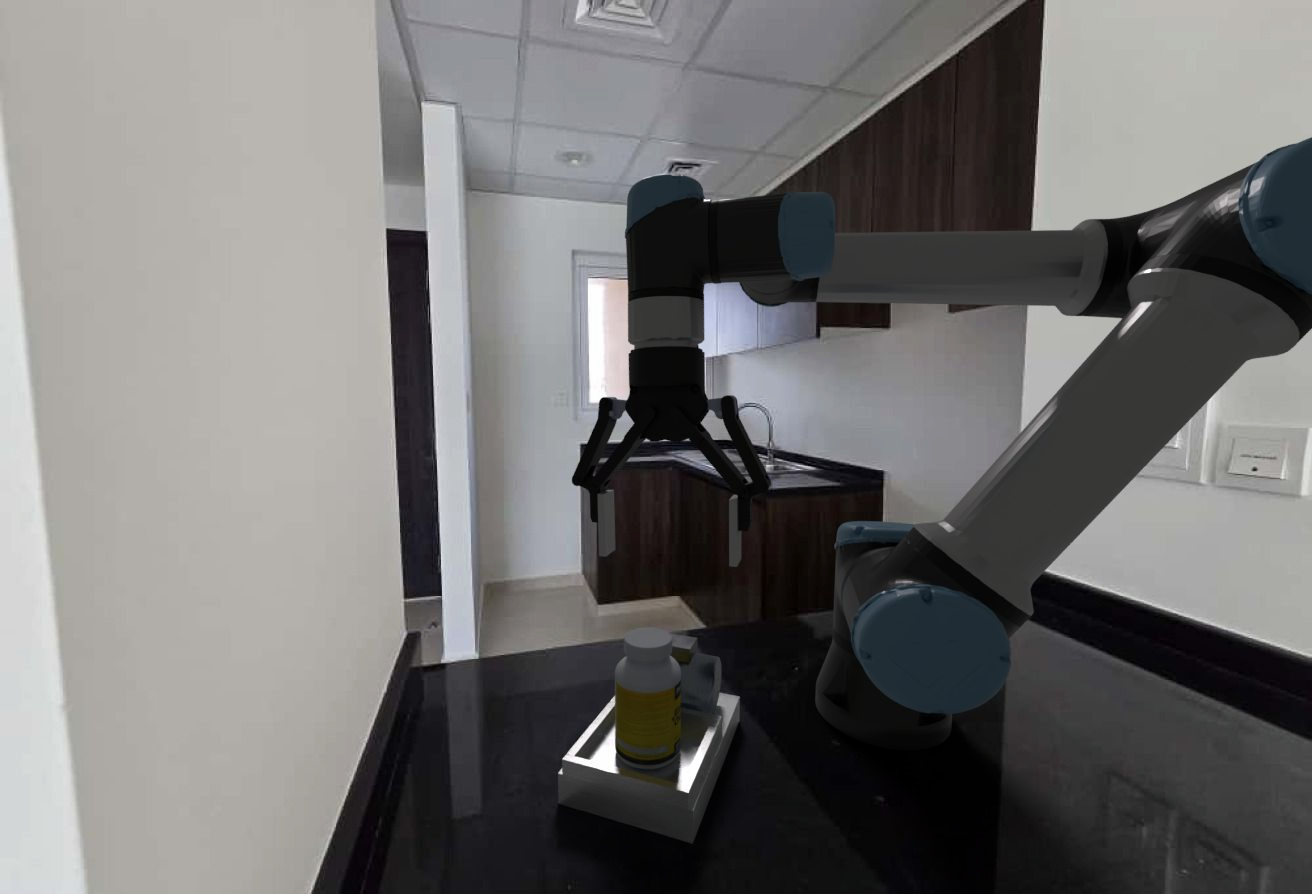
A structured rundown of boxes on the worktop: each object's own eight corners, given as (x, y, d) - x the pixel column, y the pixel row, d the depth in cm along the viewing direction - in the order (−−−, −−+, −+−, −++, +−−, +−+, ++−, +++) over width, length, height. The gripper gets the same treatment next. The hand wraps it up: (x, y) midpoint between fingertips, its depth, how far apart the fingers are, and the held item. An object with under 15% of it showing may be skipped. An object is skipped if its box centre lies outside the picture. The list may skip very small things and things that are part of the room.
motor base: (692, 843, 47) (694, 727, 46) (558, 803, 52) (557, 697, 51) (739, 721, 65) (741, 635, 64) (636, 699, 69) (636, 618, 68)
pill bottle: (674, 778, 51) (675, 656, 50) (606, 768, 52) (606, 649, 51) (685, 735, 57) (686, 626, 56) (624, 727, 59) (624, 621, 57)
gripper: (798, 345, 55) (796, 556, 57) (568, 354, 62) (574, 540, 64) (793, 338, 48) (791, 579, 50) (534, 349, 55) (542, 558, 57)
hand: (669, 557), depth 57 cm, fingers open, 13 cm apart
